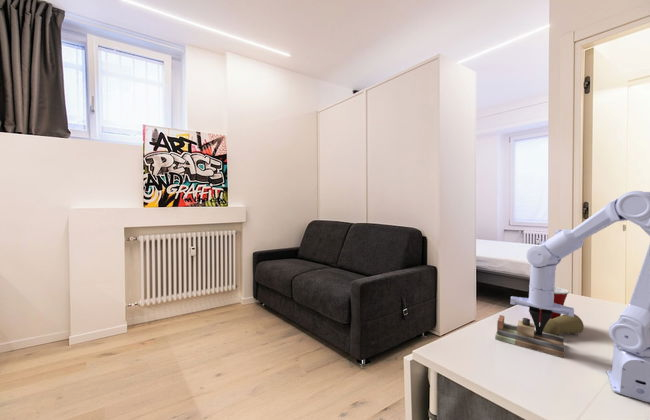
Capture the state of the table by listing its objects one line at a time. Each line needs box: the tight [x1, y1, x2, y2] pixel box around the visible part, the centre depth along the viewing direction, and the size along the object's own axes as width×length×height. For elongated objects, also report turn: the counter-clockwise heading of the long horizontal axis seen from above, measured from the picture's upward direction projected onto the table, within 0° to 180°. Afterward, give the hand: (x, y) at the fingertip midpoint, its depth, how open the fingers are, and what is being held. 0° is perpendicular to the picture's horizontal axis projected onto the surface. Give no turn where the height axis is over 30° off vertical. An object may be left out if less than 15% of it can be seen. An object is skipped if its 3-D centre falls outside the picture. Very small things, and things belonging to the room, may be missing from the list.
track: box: [494, 315, 565, 359], centre depth 86 cm, size 16×9×5 cm, turn 52°
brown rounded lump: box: [543, 313, 585, 336], centre depth 91 cm, size 6×6×11 cm
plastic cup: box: [528, 284, 570, 324], centre depth 99 cm, size 11×11×12 cm
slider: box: [516, 317, 536, 338], centre depth 87 cm, size 4×4×5 cm
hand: (539, 333), depth 85 cm, fingers closed
